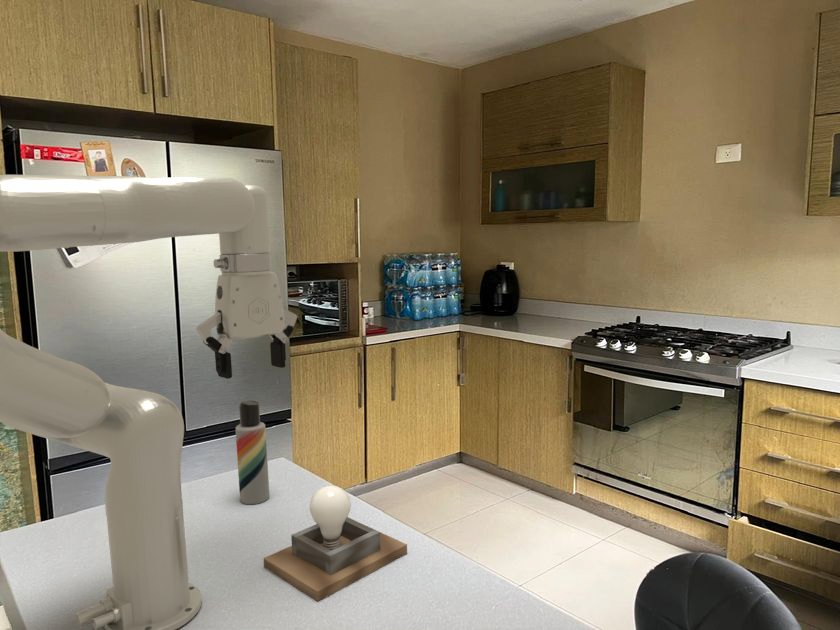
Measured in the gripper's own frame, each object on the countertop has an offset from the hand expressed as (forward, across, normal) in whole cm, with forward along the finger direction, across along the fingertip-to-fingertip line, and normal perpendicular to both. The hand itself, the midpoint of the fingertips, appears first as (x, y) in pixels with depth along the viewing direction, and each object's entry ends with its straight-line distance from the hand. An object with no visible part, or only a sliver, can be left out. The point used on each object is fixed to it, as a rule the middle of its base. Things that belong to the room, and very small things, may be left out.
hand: (252, 371), depth 100 cm
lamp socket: (+30, +6, -12) cm, 33 cm away
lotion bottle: (+31, +10, +19) cm, 37 cm away
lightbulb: (+29, +5, -12) cm, 32 cm away
